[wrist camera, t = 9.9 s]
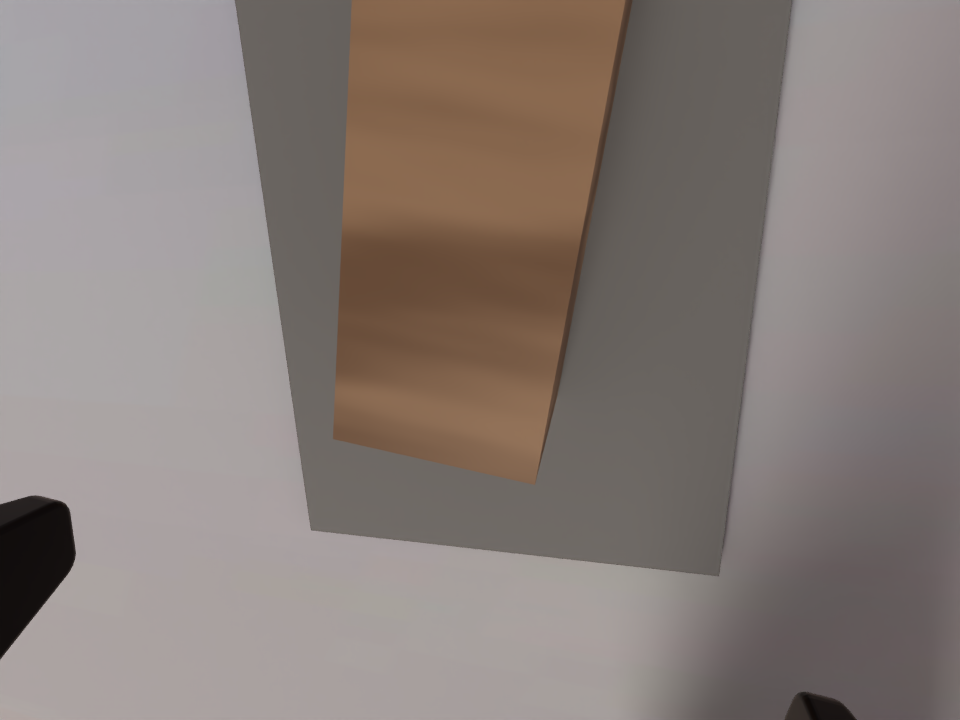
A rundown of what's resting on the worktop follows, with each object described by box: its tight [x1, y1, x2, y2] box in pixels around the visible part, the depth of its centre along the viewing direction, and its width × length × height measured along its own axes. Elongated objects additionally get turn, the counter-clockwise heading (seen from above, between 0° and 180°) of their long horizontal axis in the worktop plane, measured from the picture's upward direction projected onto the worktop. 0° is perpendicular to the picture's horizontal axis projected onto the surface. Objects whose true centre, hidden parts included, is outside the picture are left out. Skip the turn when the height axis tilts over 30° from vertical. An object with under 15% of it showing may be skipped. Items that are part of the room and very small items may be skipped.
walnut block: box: [333, 0, 633, 485], centre depth 15 cm, size 5×5×13 cm
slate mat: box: [235, 0, 792, 576], centre depth 18 cm, size 24×14×1 cm, turn 2°
